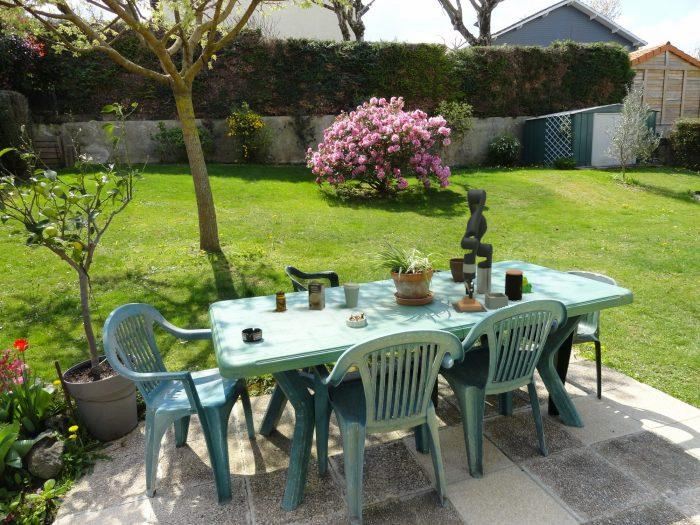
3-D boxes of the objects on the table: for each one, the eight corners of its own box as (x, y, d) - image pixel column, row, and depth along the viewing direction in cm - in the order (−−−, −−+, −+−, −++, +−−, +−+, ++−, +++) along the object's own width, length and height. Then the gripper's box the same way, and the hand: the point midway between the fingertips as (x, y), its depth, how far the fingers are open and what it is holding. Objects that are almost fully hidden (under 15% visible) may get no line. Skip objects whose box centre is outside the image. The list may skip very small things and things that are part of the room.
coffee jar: (523, 301, 314) (524, 273, 310) (505, 301, 316) (506, 273, 312) (520, 296, 324) (522, 269, 320) (503, 296, 326) (504, 269, 322)
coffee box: (308, 309, 313) (307, 284, 310) (312, 306, 319) (311, 282, 315) (322, 310, 310) (320, 285, 307) (325, 307, 316) (324, 282, 312)
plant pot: (471, 283, 359) (472, 262, 356) (451, 284, 360) (451, 262, 356) (467, 278, 374) (467, 257, 371) (447, 279, 374) (447, 258, 371)
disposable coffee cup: (352, 302, 324) (351, 280, 321) (364, 305, 316) (363, 282, 313) (340, 306, 316) (339, 283, 313) (352, 309, 309) (351, 286, 306)
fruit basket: (529, 290, 338) (530, 274, 336) (532, 294, 330) (533, 277, 327) (512, 290, 339) (512, 274, 337) (515, 294, 331) (515, 277, 328)
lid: (456, 304, 312) (456, 294, 310) (476, 303, 311) (476, 293, 310) (460, 310, 299) (460, 300, 298) (481, 309, 299) (481, 299, 298)
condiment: (284, 312, 308) (282, 294, 305) (271, 311, 310) (270, 293, 308) (288, 309, 315) (287, 290, 312) (276, 308, 317) (275, 290, 315)
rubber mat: (451, 303, 314) (451, 303, 314) (479, 302, 314) (479, 302, 314) (457, 312, 297) (457, 312, 296) (487, 311, 297) (487, 311, 296)
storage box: (484, 303, 312) (485, 293, 310) (502, 303, 312) (502, 292, 310) (489, 309, 301) (489, 298, 299) (507, 308, 301) (508, 297, 299)
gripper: (460, 268, 307) (460, 293, 311) (465, 273, 294) (465, 300, 297) (472, 267, 307) (472, 293, 311) (478, 273, 293) (478, 299, 297)
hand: (469, 296), depth 304 cm, fingers open, 8 cm apart
